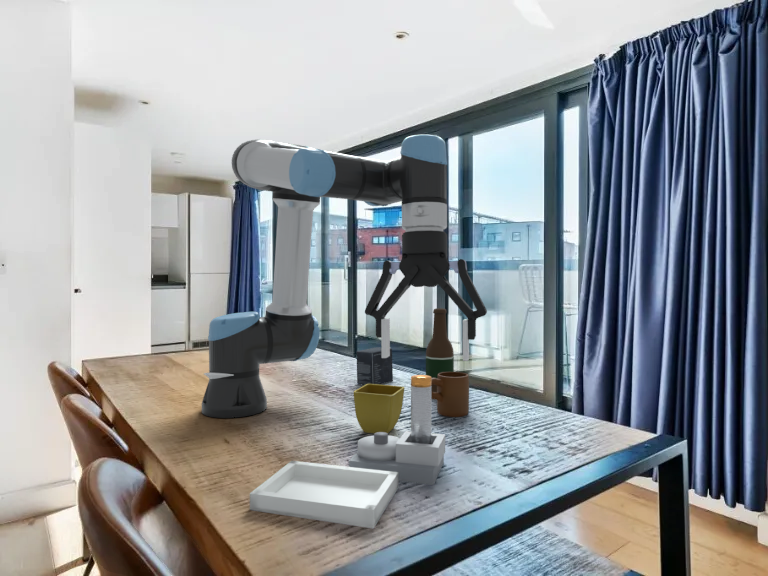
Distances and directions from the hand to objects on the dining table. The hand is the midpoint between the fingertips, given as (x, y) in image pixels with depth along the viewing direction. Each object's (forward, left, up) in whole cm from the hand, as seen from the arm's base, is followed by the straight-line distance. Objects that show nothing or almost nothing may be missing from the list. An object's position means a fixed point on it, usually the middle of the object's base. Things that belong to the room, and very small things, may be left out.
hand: (425, 358), depth 84 cm
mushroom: (-53, +23, -19) cm, 60 cm away
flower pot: (-14, +19, -19) cm, 30 cm away
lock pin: (-1, 0, -16) cm, 16 cm away
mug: (-2, +35, -19) cm, 40 cm away
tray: (-12, -14, -19) cm, 26 cm away
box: (-29, +65, -19) cm, 74 cm away
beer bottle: (-7, +54, -19) cm, 58 cm away
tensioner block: (-5, 0, -19) cm, 19 cm away
